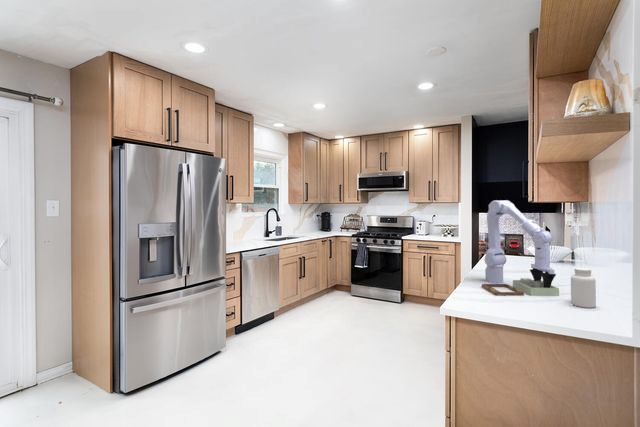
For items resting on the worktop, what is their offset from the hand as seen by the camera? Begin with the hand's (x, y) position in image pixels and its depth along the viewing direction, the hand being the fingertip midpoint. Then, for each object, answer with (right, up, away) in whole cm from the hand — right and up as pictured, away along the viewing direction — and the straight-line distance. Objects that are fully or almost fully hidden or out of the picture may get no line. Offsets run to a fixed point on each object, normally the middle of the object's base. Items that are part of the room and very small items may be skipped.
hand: (542, 286), depth 152 cm
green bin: (-2, -3, +3) cm, 5 cm away
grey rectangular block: (-4, -3, +5) cm, 7 cm away
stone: (0, -3, 0) cm, 3 cm away
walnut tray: (-17, -4, +4) cm, 18 cm away
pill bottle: (+5, -4, -18) cm, 19 cm away
